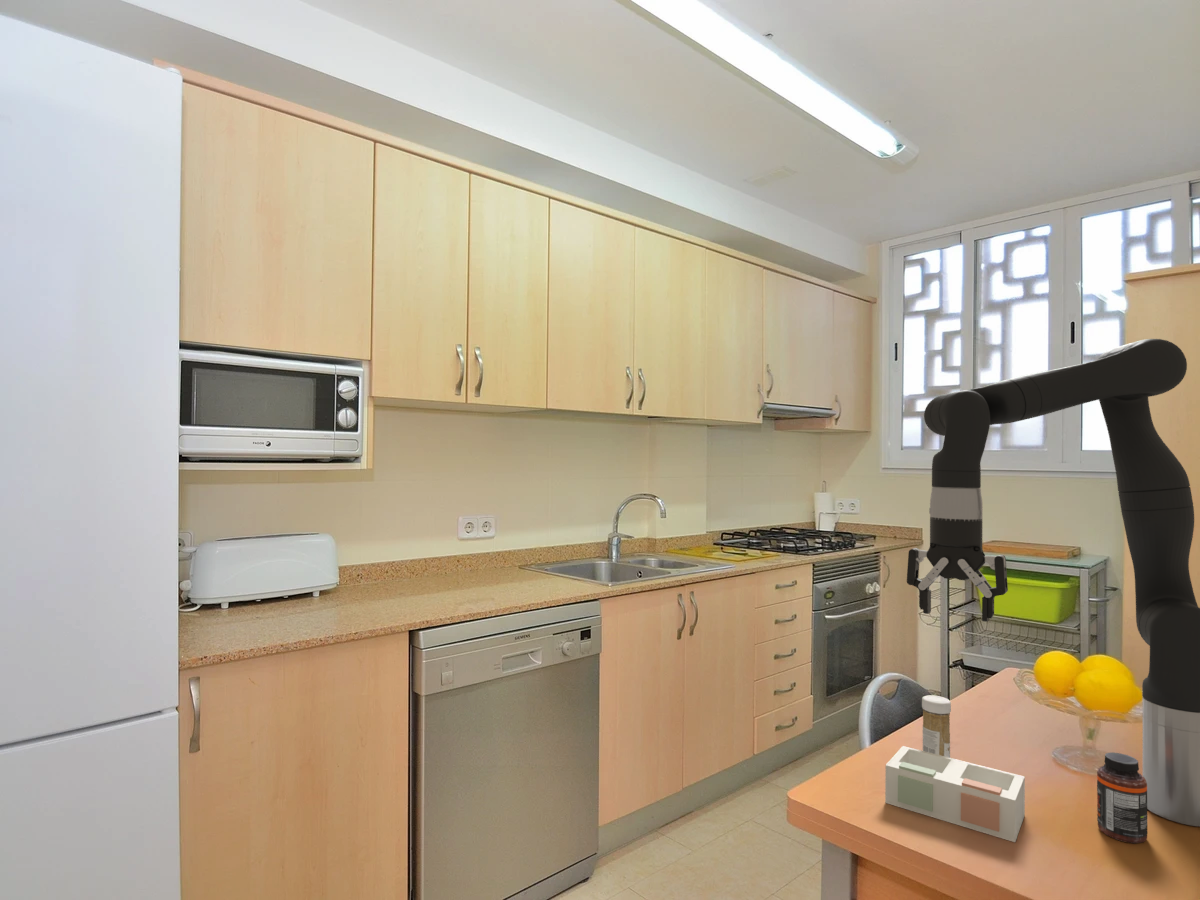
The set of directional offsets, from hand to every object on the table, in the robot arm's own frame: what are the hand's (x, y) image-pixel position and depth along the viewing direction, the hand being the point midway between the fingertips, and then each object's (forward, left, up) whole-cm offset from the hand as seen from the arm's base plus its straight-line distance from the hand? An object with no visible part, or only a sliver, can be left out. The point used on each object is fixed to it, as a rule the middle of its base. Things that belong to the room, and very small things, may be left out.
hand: (955, 616), depth 110 cm
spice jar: (+5, -10, -30) cm, 32 cm away
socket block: (0, +1, -30) cm, 30 cm away
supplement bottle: (-21, -7, -30) cm, 38 cm away
